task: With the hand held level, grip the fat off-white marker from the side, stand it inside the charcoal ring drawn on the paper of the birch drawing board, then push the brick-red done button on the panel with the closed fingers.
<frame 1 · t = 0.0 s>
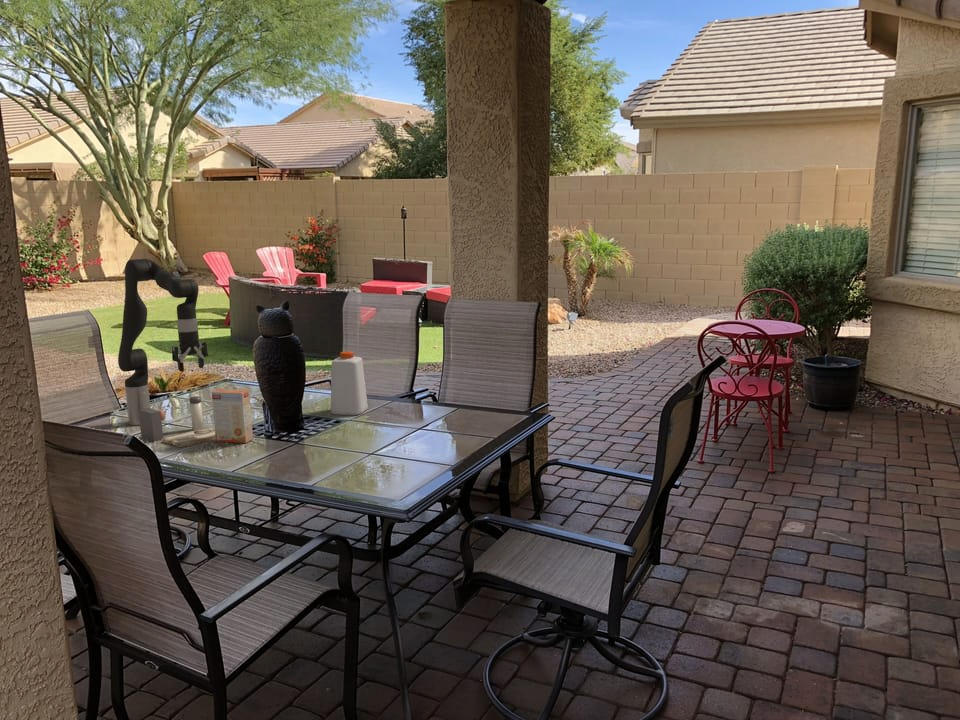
hand: (191, 369, 302), 29 cm above the table, tool pointing down, fingers open, 8 cm apart
drawing board: (194, 438, 309), on the table
plastic bottle: (349, 412, 349), on the table
button panel: (152, 438, 310), on the table
done button: (159, 415, 311), point 9 cm above the table, slide at 0.0 cm
marker: (198, 429, 323), on the table
cracker box: (234, 441, 305), on the table
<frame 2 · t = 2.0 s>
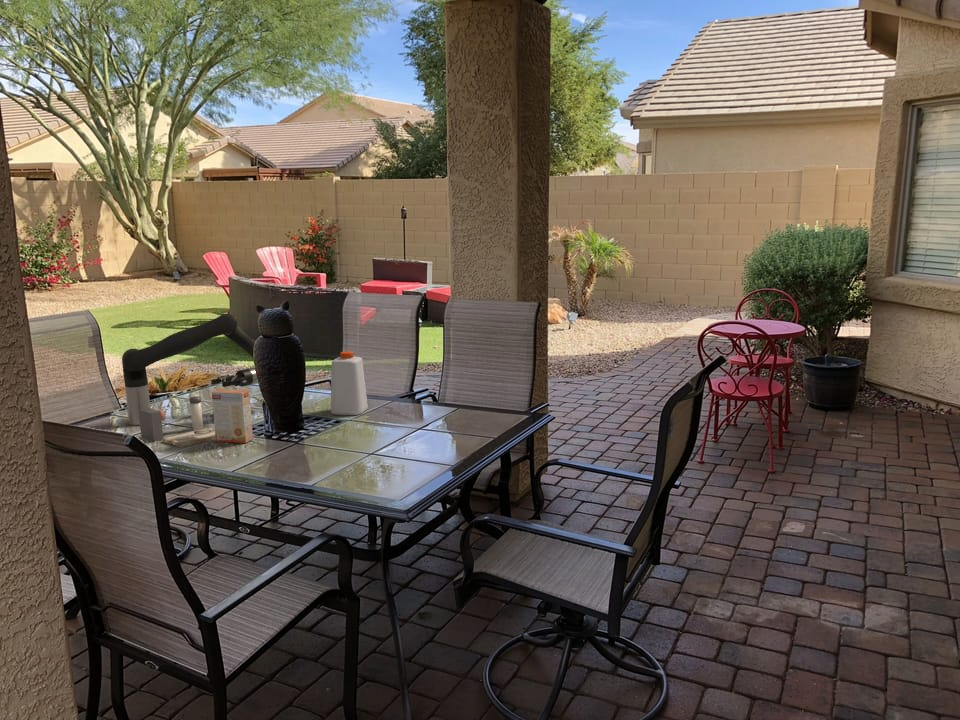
hand: (217, 383, 328), 18 cm above the table, tool horizontal, fingers open, 8 cm apart
nothing on the table moved.
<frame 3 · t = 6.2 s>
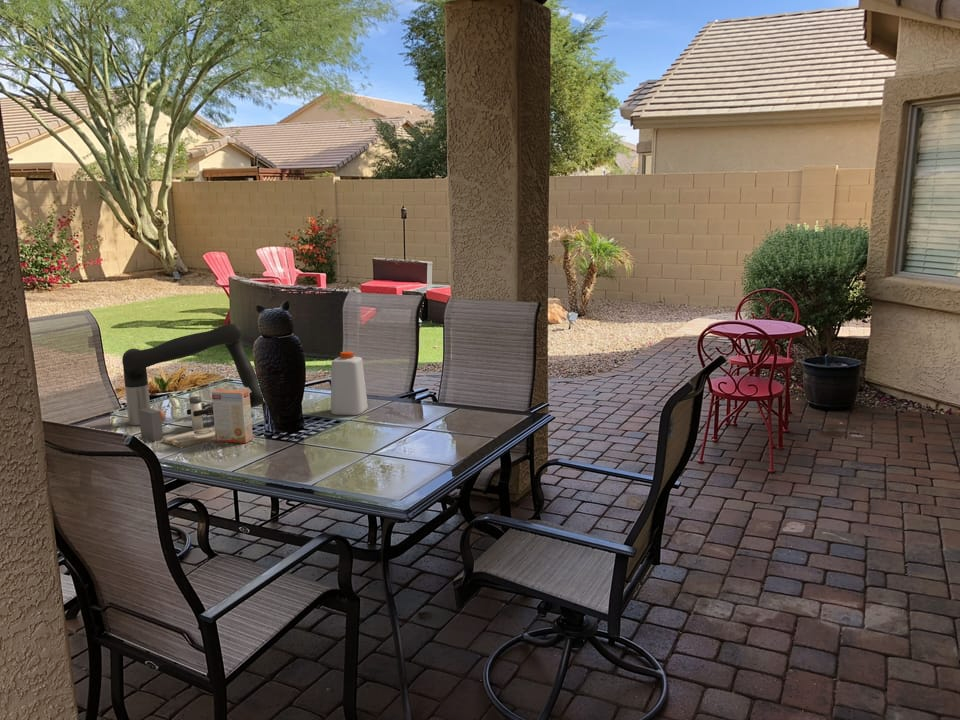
hand: (190, 413, 319), 8 cm above the table, tool horizontal, fingers closed on marker, 4 cm apart
marker: (198, 429, 323), on the table, touching gripper
everything else where it was.
when the fingers open (10 cm above the table, at t = 11.7 s): marker stays where it is, resting on drawing board.
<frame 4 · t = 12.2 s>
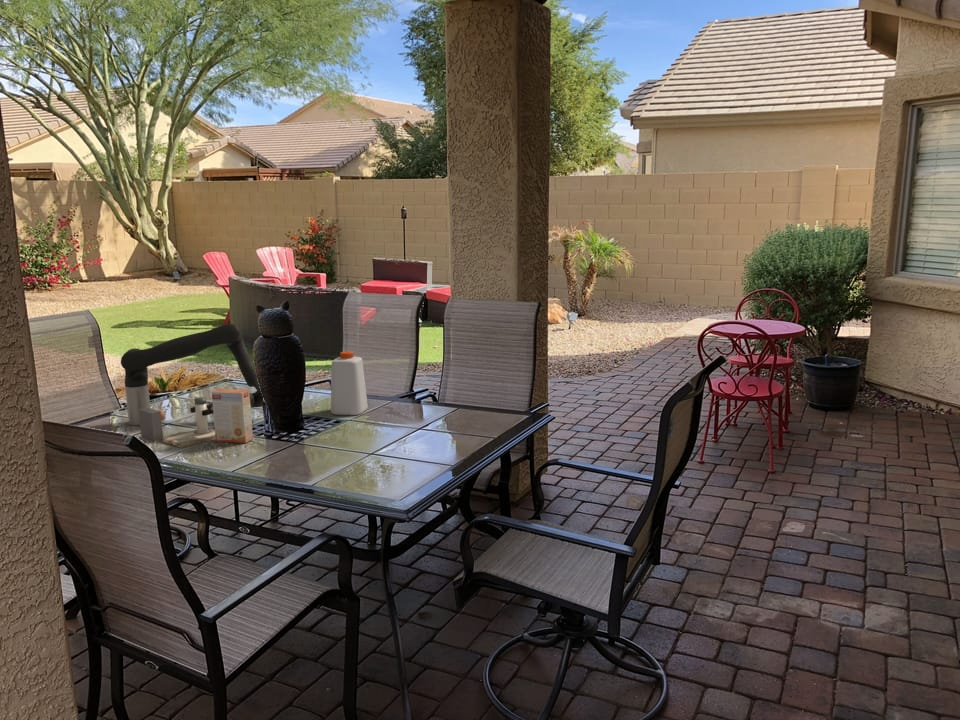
hand: (196, 411, 310), 11 cm above the table, tool horizontal, fingers open, 8 cm apart
marker: (202, 431, 313), point 2 cm above the table, touching drawing board
everything else where it was.
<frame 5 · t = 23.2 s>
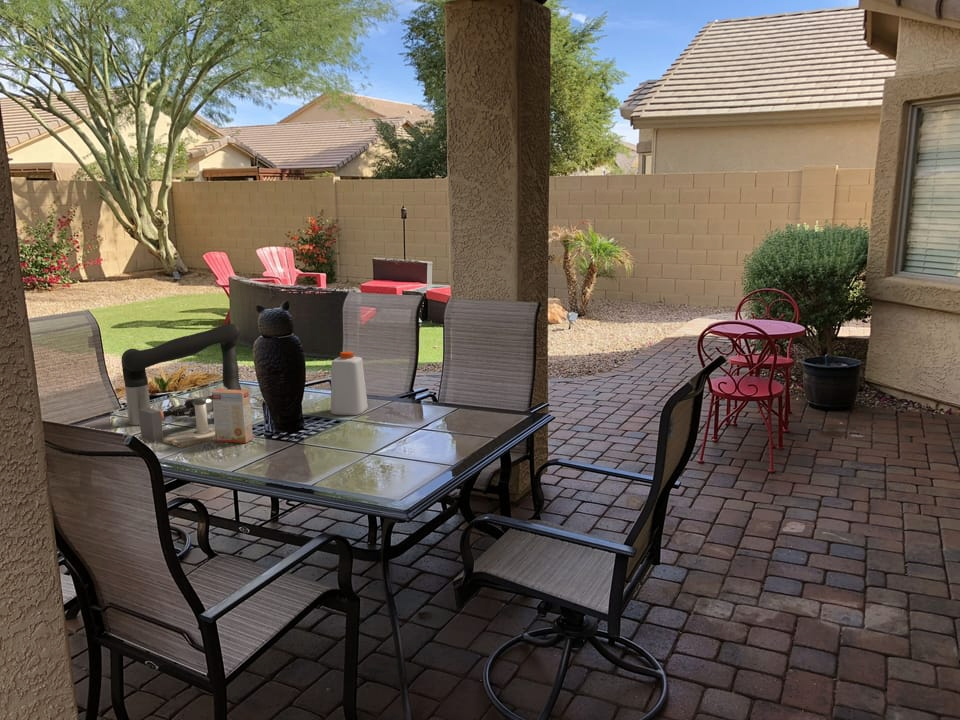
hand: (161, 415, 312), 9 cm above the table, tool horizontal, fingers closed
done button: (159, 415, 311), point 9 cm above the table, slide at 0.4 cm, touching gripper
everything else where it was.
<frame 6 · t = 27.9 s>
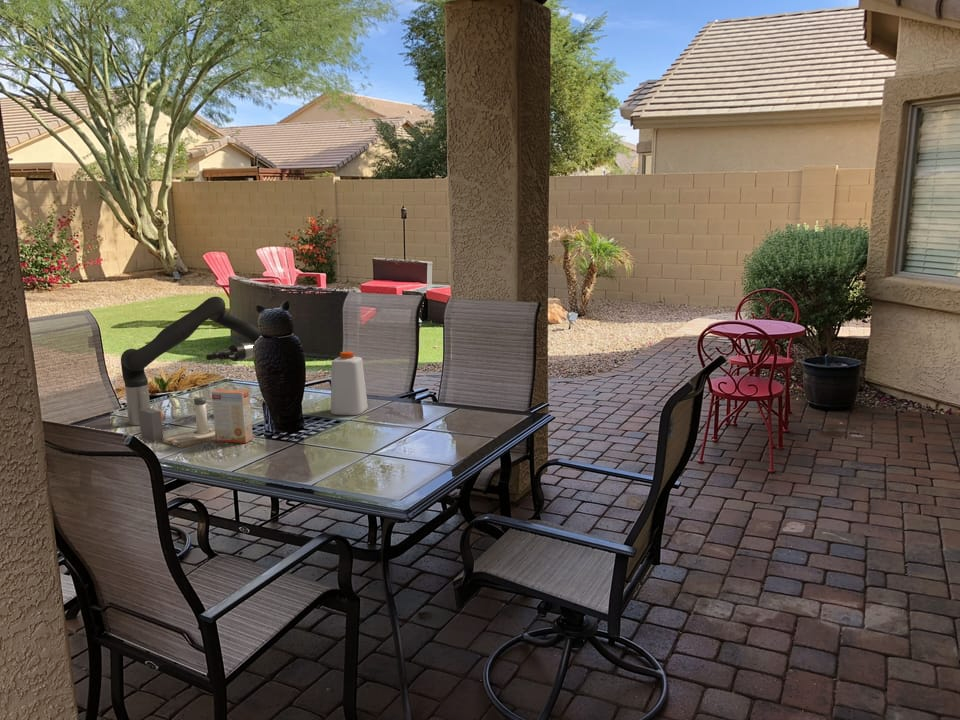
hand: (207, 357, 324), 30 cm above the table, tool horizontal, fingers closed
done button: (158, 415, 311), point 9 cm above the table, slide at 0.7 cm
everything else where it was.
at the end: marker 0.1 cm from the target spot on the drawing board, point 1.7 cm above the drawing board's base; marker tilted 0°; done button slide at 0.7 cm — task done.
